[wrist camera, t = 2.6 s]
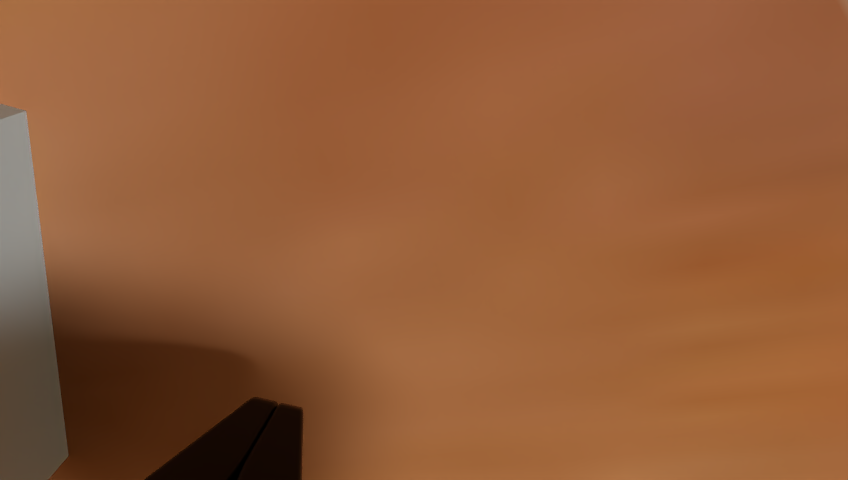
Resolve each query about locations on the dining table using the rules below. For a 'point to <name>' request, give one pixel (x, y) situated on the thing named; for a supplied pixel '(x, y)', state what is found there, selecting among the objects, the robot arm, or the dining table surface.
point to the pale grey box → (25, 320)
